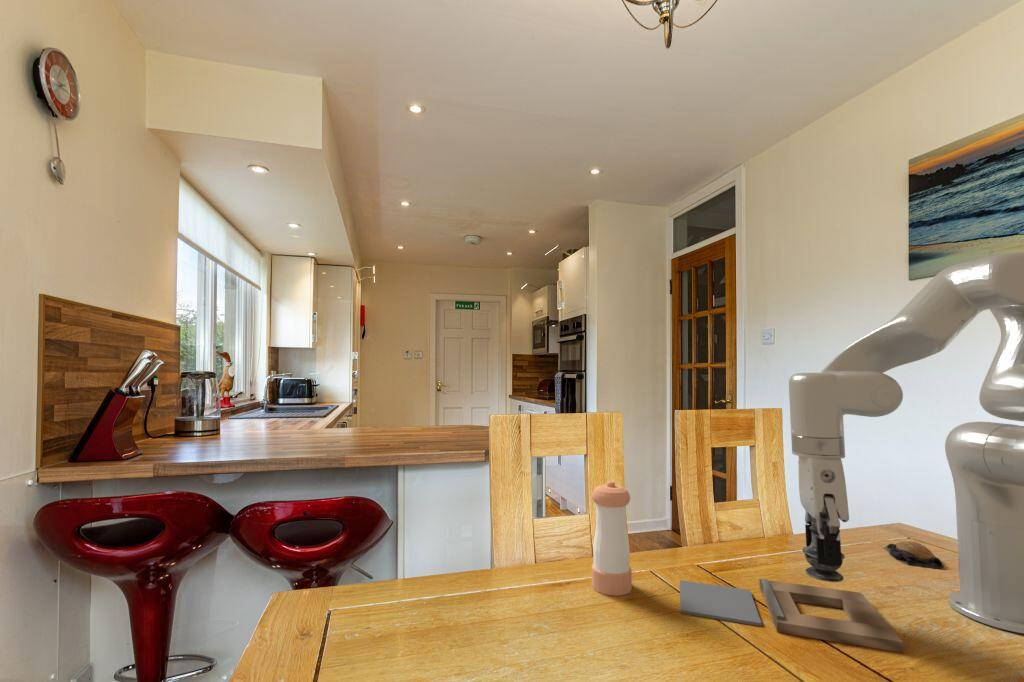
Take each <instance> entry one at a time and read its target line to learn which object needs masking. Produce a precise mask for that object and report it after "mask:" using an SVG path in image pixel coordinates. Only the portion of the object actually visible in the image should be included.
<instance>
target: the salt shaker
mask: <svg viewBox="0 0 1024 682" xmlns="http://www.w3.org/2000/svg"><path fill="white" fill-rule="evenodd" d="M820 516H821V518H826V519H827V515H820ZM811 520H812V526H810V527H809V528H810V529H811V531H812V541H811V545H810V546H806V545H805V546H804V547H802V552H803V553H804V557H805V559H806V561H807V563H808V564H809V565H810V567H807V568H805V570H804V571H805V574H806V575H807V576H809V577H811V578H813V579H816V580H818V581H819V580H820V581H823V582H829V583H830V582H831V583H839V582H842V581H844V579H845V578H844V576H843V574H841V573H840V572H839V571H837V570H839V569H840V568H841V567H842V565H841V566H833V565H823V564H819V563H818V561H817V545H816V537H819V536H818V529H817V522H816V519H815V518H813V517H812V516H811ZM825 525H828V524H827V523H822V526H823V529H824V526H825ZM844 559H845V554H844V553H842V552H841V561H842V564H843V561H844Z"/></svg>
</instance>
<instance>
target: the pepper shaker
mask: <svg viewBox="0 0 1024 682" xmlns="http://www.w3.org/2000/svg"><path fill="white" fill-rule="evenodd" d="M591 497H592V500H593V502H594V503H595V504H596V506H595V507H596V509H595V511H596V512H595V530H594V531H595V532H594V538H593V546H592V549H593V551H592V552H593V563H592V565H591V587H592V589H593V590H594V591H596V592H598V593H600V594H603V595H607V596H624V595H627V594H629V593H631V592H632V588H633V583H632V578H633V576H632V575H633V574H632V568H631V566H630V543H629V537H628V531H627V506H628V505H629V503H630V500H631V495H630V493H629V491H628V489H627V488H625V487H623V486H622V485H621V486H620V485H619V484H616V483H615V481H612V480H609V481H607V482H606V483H605V484H601V485H598V486H596V487H595V488H594V490H593V491H592V493H591Z"/></svg>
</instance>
